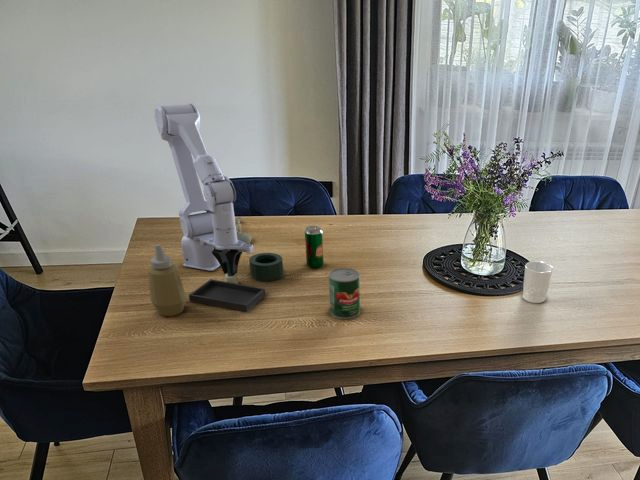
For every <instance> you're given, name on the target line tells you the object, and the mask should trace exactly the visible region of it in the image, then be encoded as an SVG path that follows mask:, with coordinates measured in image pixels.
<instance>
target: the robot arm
mask: <svg viewBox="0 0 640 480" xmlns="http://www.w3.org/2000/svg"><path fill="white" fill-rule="evenodd" d="M154 120H155V124H156V127H157V130H158V133H159V136H160V138H161V140H163V141H166V142H167V143H168V145H169V146H168V147H169V148H170V152H171V155H172V158H173V162H174V165H175V168H176V172H177V176H178V178H179V179H178V180H179V182H180V186H181V189H182V193H183V197H184V200H185V204H184V205H183V206H182V207H181V208H180V210H179V211H178V216H179V224H180V229H181V231H182V234H183V236H182V238H181V240H180V241H181V242H180V247H181V254H182V257H183V264H182V266H183V267H184V268H189V269H190V268H191V269H195V270H202V271H203V270H204V271H209V272H213V271H215V270H216V269H218V268H219V267H221V270H222V272H223V275H225V274H227V266H226V261H227V260H228V263H229V267H230V273H231V275H235V274H237V273H238V267H239V263H240V259H241V257H242V254H243V253H246V254H247V255H251V254H252V253H254V251H255V250H254V244H251V243H250V244H247V243H245V242H242V241H239V240H237V233H236V232H237V226H236V225H237V224H236V218H235V211H234V210H235V209H234V203H235V202H236V200H237V192H236V188H235V186H234V183H233V182H232V180H231V179H229V178H228V176H225V175H224V173H223V171H222V169H221V168H220V165H219V163H218V161H217V160H216V158H215V157H214V156H213V155H210V154H209V153H208V150H207V148H206V145H205V142H204V139H203V138H202V135H201V133H200V132H201V131H200V130H201V116H200V112H199V109H198V107H197V106H196V105H194V104H193V103H188V104H187V103H186V104H171V105H156V107H155V109H154ZM201 184H202V186H203V189H202V186H201ZM197 212H199V213H197ZM193 213H194V214H193Z"/></svg>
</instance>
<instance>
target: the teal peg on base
mask: <svg viewBox="0 0 640 480" xmlns="http://www.w3.org/2000/svg"><path fill="white" fill-rule="evenodd" d="M226 266H227V274H224V280H225V281H224V282H230V283H235V284H239V280H238V274H237V273H236V274H235V275H231V273H230V267H229V263H228V260H227V261H226Z"/></svg>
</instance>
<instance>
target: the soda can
mask: <svg viewBox="0 0 640 480" xmlns="http://www.w3.org/2000/svg"><path fill="white" fill-rule="evenodd" d="M323 238H324V236H323V230H322V228H321V226H318V225H308V226H306V227H305V230H304V243H305V244H304V245H305V260H306V262H305V263H306V266H307V267H308V268H310V269H320V268H322V267H324V262H325V261H324V240H323Z"/></svg>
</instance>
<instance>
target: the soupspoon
mask: <svg viewBox="0 0 640 480" xmlns="http://www.w3.org/2000/svg"><path fill="white" fill-rule="evenodd" d="M235 221H236V222H237V231H236V233H237V240H239V241H242V242H245V243H247V244H251V243H252V236H251V234H250V233H248V232H245V231H242V227H241V223H242V221H243V219H242V217H241V216H239V217H237V218H235Z"/></svg>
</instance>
